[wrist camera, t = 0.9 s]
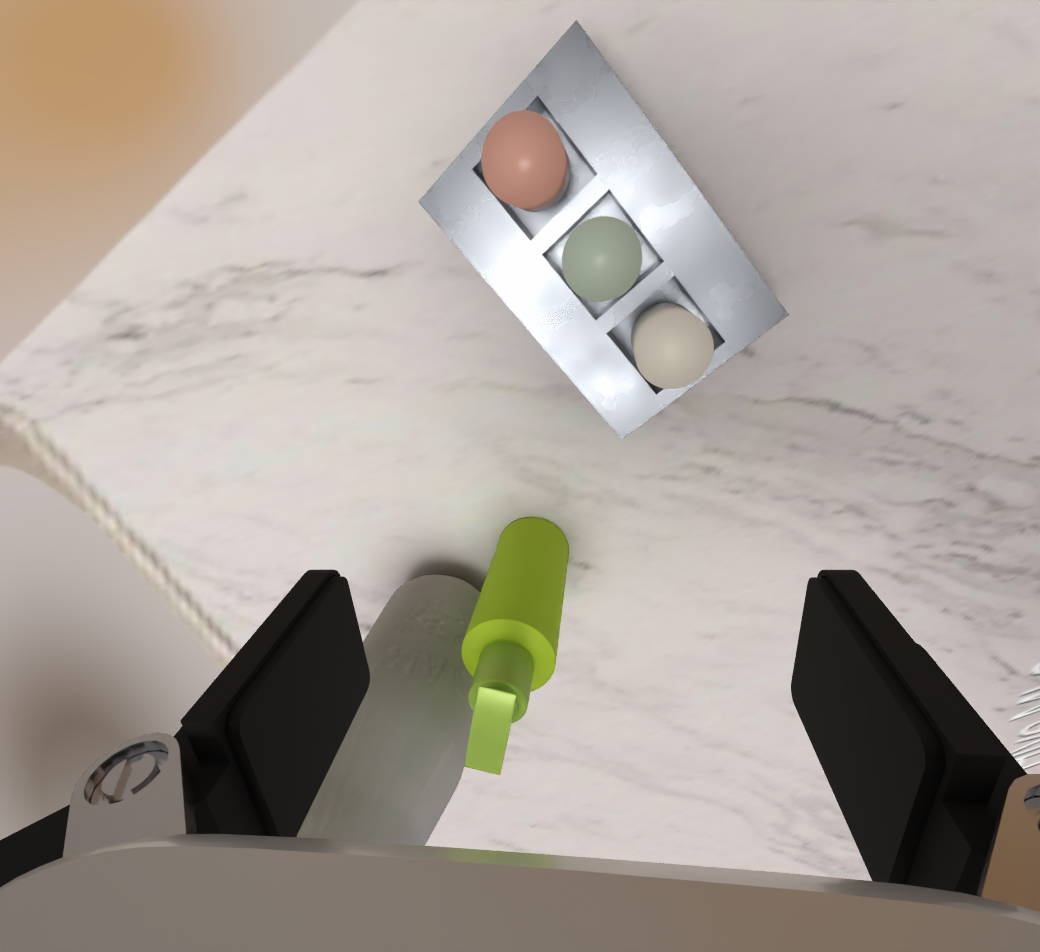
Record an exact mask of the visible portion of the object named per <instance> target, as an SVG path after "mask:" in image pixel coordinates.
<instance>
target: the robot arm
mask: <svg viewBox="0 0 1040 952" xmlns="http://www.w3.org/2000/svg"><path fill="white" fill-rule="evenodd" d="M369 684H370V670H369V666H368V662H367V658H366V654H365V650H364V646H363V642H362V638H361V634H360V630H359V626H358V621H357V617H356V613H355V609H354V605H353V601H352V597H351V593H350V589H349V585H348V581H347V579H346V578H345V577H340V574H339V573H338V571H336V570H308V571H307V572H306V573H305V574H304V575H303V576H302V577H301V579H300V580H299V581H298V582H297V583H296V584H295V586H294V587H293V588H292V589H291V590H290V592H289V593H288V594H287V595H286V596H285V598H284V599H283V600H282V601H281V602H280V603H279V605H278V606H277V607H276V608H275V609H274V611H273V612H272V613H271V614H270V615H269V616H268V618H267V619H266V620H265V621H264V622H263V624H262V625H261V626H260V627H259V628H258V629H257V631H256V632H255V633H254V634H253V635H252V637H251V638H250V639H249V640H248V641H247V643H246V644H245V645H244V646H243V647H242V648H241V650H240V651H239V652H238V653H237V654H236V656H235V657H234V658H233V659H232V660H231V661H230V663H229V664H228V665H227V666H226V667H225V669H224V670H223V671H222V672H221V673H220V675H219V676H218V677H217V678H216V679H215V680H214V682H213V683H212V684H211V685H210V686H209V688H208V689H207V690H206V691H205V692H204V693H203V695H202V696H201V697H200V698H199V699H198V701H197V702H196V703H195V704H194V706H192V708H191V709H190V710H189V711H188V712H187V714H186V715H185V716H184V717H183V718H182V720H181V723H182V725H183V726H182V727H181V728H180V730H179V731H178V732H177V733H176V735H175V736H174V737H172V736H171V735H169V734H163V733H152V734H145V735H142V736H139V737H136V738H133V739H130V740H128V741H126V742H124V743H122V744H120V745H118V746H116V747H114V748H113V749H111V750H110V751H108V752H107V753H105V754H104V755H103V756H102V757H100V758H98V759H97V760H96V761H95V762H94V763H93V764H92V765H91V766H90V767H89V768H88V769H87V770H86V771H85V772H84V773H83V775H82V776H81V778H80V779H79V780H78V782H77V783H76V785H75V788H74V790H73V793H72V796H71V802H70V805H68V806H66V807H64V808H62V809H60V810H58V811H57V812H55V813H53V814H51V815H49V816H47V817H45V818H43V819H41V820H39V821H37V822H35V823H33V824H31V825H29V826H27V827H25V828H23V829H21V830H19V831H18V832H16V833H14V834H12V835H10V836H8V837H6V838H4V839H2V840H0V952H1040V774H1027V773H1026V772H1025V771H1024V770H1023V768H1022V767H1021V766H1020V765H1019V764H1018V762H1017V761H1016V760H1015V759H1014V757H1013V756H1012V755H1011V754H1010V753H1009V751H1008V750H1007V749H1006V748H1005V746H1004V745H1003V744H1002V743H1001V742H1000V740H999V739H998V738H997V737H996V735H995V734H994V733H993V732H992V731H991V729H990V728H989V727H988V726H987V725H986V723H985V722H984V721H983V720H982V718H981V717H980V716H979V715H978V714H977V712H976V711H975V710H974V709H973V707H972V706H971V705H970V704H969V703H968V701H967V700H966V699H965V698H964V696H963V695H962V694H961V693H960V692H959V690H958V689H957V688H956V687H955V685H954V684H953V683H952V682H951V681H950V679H949V678H948V677H947V676H946V675H945V673H944V672H943V671H942V670H941V668H940V667H939V666H938V665H937V664H936V662H935V661H934V660H933V659H932V657H931V656H930V655H929V654H928V653H927V651H926V650H925V649H924V648H922V647H921V646H920V645H919V644H917V643H915V642H914V640H913V639H912V638H911V637H910V635H909V634H908V633H907V632H906V631H905V629H904V628H903V627H902V626H901V624H900V623H899V622H898V621H897V619H896V618H895V617H894V616H893V614H892V613H891V612H890V611H889V610H888V608H887V607H886V606H885V605H884V603H883V602H882V601H881V600H880V598H879V597H878V596H877V595H876V594H875V592H874V591H873V590H872V589H871V587H870V586H869V585H868V584H867V582H866V581H865V580H864V579H863V577H862V576H861V575H860V574H859V573H858V572H857V571H855V570H822V571H820V572H819V574H818V577H817V578H810V579H809V581H808V585H807V591H806V597H805V603H804V609H803V615H802V621H801V627H800V633H799V639H798V645H797V651H796V657H795V664H794V670H793V676H792V682H791V693H792V698H793V702H794V705H795V707H796V709H797V712H798V714H799V716H800V718H801V721H802V723H803V725H804V727H805V730H806V732H807V734H808V736H809V739H810V741H811V743H812V745H813V748H814V750H815V752H816V755H817V757H818V759H819V761H820V764H821V766H822V768H823V770H824V773H825V775H826V777H827V779H828V782H829V784H830V786H831V788H832V791H833V793H834V795H835V797H836V800H837V802H838V804H839V806H840V809H841V811H842V813H843V815H844V818H845V820H846V822H847V824H848V827H849V829H850V831H851V834H852V836H853V838H854V840H855V843H856V845H857V847H858V849H859V852H860V854H861V856H862V858H863V861H864V863H865V865H866V867H867V870H868V872H869V874H870V876H871V879H872V881H863V880H853V879H842V878H832V877H822V876H811V875H801V874H790V873H778V872H766V871H753V870H740V869H728V868H715V867H702V866H690V865H677V864H664V863H652V862H639V861H626V860H613V859H599V858H586V857H572V856H559V855H545V854H532V853H518V852H504V851H490V850H476V849H462V848H448V847H434V846H419V845H404V844H389V843H374V842H359V841H344V840H329V839H314V838H297V837H296V836H297V834H298V832H299V830H300V828H301V826H302V824H303V822H304V820H305V818H306V816H307V814H308V812H309V810H310V808H311V806H312V803H313V801H314V799H315V797H316V795H317V793H318V791H319V789H320V787H321V785H322V783H323V781H324V779H325V777H326V775H327V773H328V771H329V769H330V767H331V764H332V762H333V760H334V758H335V756H336V754H337V752H338V750H339V748H340V746H341V744H342V742H343V740H344V738H345V736H346V734H347V732H348V730H349V728H350V725H351V723H352V721H353V719H354V717H355V715H356V713H357V711H358V709H359V707H360V705H361V703H362V701H363V699H364V697H365V695H366V693H367V690H368V688H369Z"/></svg>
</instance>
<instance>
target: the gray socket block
mask: <svg viewBox="0 0 1040 952" xmlns="http://www.w3.org/2000/svg"><path fill="white" fill-rule="evenodd" d="M521 110H526V111H532V112H536V113H538V114H540V115H542V116H543V117H545V118H546V119H547V120H549V121H550V122H551V123H552V125H553V126H554V127H555V129H556V130H557V132H558V134H559V136H560V138H561V140H562V143H563V145H564V147H565V150H566V152H567V155H568V158H569V162H570V179H569V183H568V186H567V189H566V191H565V193H564V194H563V196H562V197H561V199H560V200H559V201H558V202H557V203H556V204H555V205H553V206H552V207H550V208H548V209H546V210H543V211H539V212H529V211H525V210H522V209H520V208H517V207H515V206H512V205H510V204H507V203H505V202H503V201H502V200H500V199H499V198H498V197H497V196H496V195H495V194H494V193H493V192H492V191H491V189H490V188H489V186H488V184H487V183H486V180H485V178H484V174H483V171H482V162H481V156H482V149H483V144H484V141H485V139H486V136H487V134H488V132H489V131H490V129H491V128H492V126H493V125H494V124H495V123H496V122H497V121H498V120H499V119H500V118H502V117H503V116H505V115H507V114H509V113H511V112H515V111H521ZM419 203H420V204H421V206H422V207H423V208H424V209H425V210H426V211H427V213H428V214H429V215H430V216H431V217H432V218H433V220H434V221H435V222H436V223H437V224H438V225H439V227H440V228H441V229H442V230H443V231H444V233H445V234H446V235H447V236H448V237H449V238H450V240H451V241H452V242H453V243H454V244H455V245H456V247H457V248H458V249H459V250H460V251H461V252H462V254H463V255H464V256H465V257H466V258H467V259H468V261H469V262H470V263H471V264H472V265H473V266H474V268H475V269H476V270H477V271H478V272H479V273H480V275H481V276H482V277H483V278H484V279H485V280H486V282H487V283H488V284H489V285H490V286H491V287H492V289H493V290H494V291H495V292H496V293H497V294H498V296H499V297H500V298H501V299H502V300H503V301H504V303H505V304H506V305H507V306H508V307H509V308H510V310H511V311H512V312H513V313H514V314H515V315H516V317H517V318H518V319H519V320H520V321H521V322H522V324H523V325H524V326H525V327H526V328H527V329H528V331H529V332H530V333H531V334H532V335H533V336H534V338H535V339H536V340H537V341H538V342H539V343H540V345H541V346H542V347H543V348H544V349H545V350H546V352H547V353H548V354H549V355H550V356H551V357H552V359H553V360H554V361H555V362H556V363H557V365H558V366H559V367H560V368H561V369H562V370H563V372H564V373H565V374H566V375H567V376H568V377H569V379H570V380H571V381H572V382H573V383H574V384H575V386H576V387H577V388H578V389H579V390H580V391H581V393H582V394H583V395H584V396H585V397H586V398H587V400H588V401H589V402H590V403H591V404H592V405H593V407H594V408H595V409H596V410H597V411H598V412H599V414H600V415H601V416H602V417H603V418H604V419H605V421H606V422H607V423H608V424H609V425H610V426H611V428H612V429H613V430H614V431H615V432H616V433H617V435H618V436H619V437H620V438H621V439H623V438H624V437H626V436H627V435H628V434H630V433H631V432H632V431H634V430H635V429H637V428H638V427H639V426H641V425H642V424H643V423H645V422H646V421H647V420H649V419H650V418H651V417H653V416H654V415H655V414H657V413H658V412H659V411H661V410H662V409H663V408H665V407H666V406H667V405H669V404H670V403H671V402H673V401H674V400H675V399H677V398H678V397H679V396H681V395H682V394H683V393H685V392H686V391H687V390H689V389H690V388H691V387H693V386H694V385H695V384H697V383H698V382H700V381H701V380H702V379H704V378H705V377H706V376H708V375H709V374H710V373H712V372H713V371H714V370H716V369H717V368H718V367H720V366H721V365H722V364H724V363H725V362H726V361H728V360H729V359H730V358H732V357H733V356H734V355H736V354H737V353H738V352H740V351H741V350H742V349H744V348H745V347H746V346H748V345H749V344H750V343H752V342H753V341H754V340H756V339H757V338H758V337H760V336H761V335H762V334H764V333H765V332H767V331H768V330H769V329H771V328H772V327H773V326H775V325H776V324H777V323H779V322H780V321H781V320H783V319H784V318H785V317H787V316H788V315H789V314H788V313H787V311H786V310H785V309H784V307H783V306H782V305H781V303H780V302H779V300H778V299H777V298H776V296H775V295H774V293H773V292H772V291H771V289H770V288H769V286H768V285H767V284H766V282H765V281H764V280H763V278H762V277H761V275H760V274H759V273H758V271H757V270H756V268H755V267H754V266H753V264H752V263H751V262H750V260H749V259H748V257H747V256H746V255H745V253H744V252H743V250H742V249H741V248H740V246H739V245H738V243H737V242H736V241H735V239H734V238H733V237H732V235H731V234H730V232H729V231H728V230H727V228H726V227H725V225H724V224H723V223H722V221H721V220H720V218H719V217H718V216H717V214H716V213H715V212H714V210H713V209H712V207H711V206H710V205H709V203H708V202H707V200H706V199H705V198H704V196H703V195H702V193H701V192H700V191H699V189H698V188H697V187H696V185H695V184H694V182H693V181H692V180H691V178H690V177H689V175H688V174H687V173H686V171H685V170H684V169H683V167H682V166H681V164H680V163H679V162H678V160H677V159H676V157H675V156H674V155H673V153H672V152H671V150H670V149H669V148H668V146H667V145H666V144H665V142H664V141H663V139H662V138H661V137H660V135H659V134H658V132H657V131H656V130H655V128H654V127H653V125H652V124H651V123H650V121H649V120H648V119H647V117H646V116H645V114H644V113H643V112H642V110H641V109H640V107H639V106H638V105H637V103H636V102H635V100H634V99H633V98H632V96H631V95H630V94H629V92H628V91H627V89H626V88H625V87H624V85H623V84H622V82H621V81H620V80H619V78H618V77H617V75H616V74H615V73H614V71H613V70H612V69H611V67H610V66H609V64H608V63H607V62H606V60H605V59H604V57H603V56H602V55H601V53H600V52H599V51H598V49H597V48H596V46H595V45H594V44H593V42H592V41H591V39H590V38H589V37H588V35H587V34H586V32H585V31H584V30H583V28H582V27H581V26H580V24H579V23H578V21H577V20H576V21H575V22H574V23H573V25H572V26H571V27H570V28H569V29H568V30H567V32H566V33H565V34H564V35H563V36H562V37H561V38H560V40H559V41H558V42H557V43H556V44H555V45H554V46H553V48H552V49H551V50H550V51H549V52H548V53H547V55H546V56H545V57H544V58H543V59H542V60H541V61H540V63H539V64H538V65H537V66H536V67H535V68H534V70H533V71H532V72H531V73H530V74H529V75H528V76H527V78H526V79H525V80H524V81H523V82H522V83H521V84H520V86H519V87H518V88H517V89H516V90H515V91H514V93H513V94H512V95H511V96H510V97H509V98H508V99H507V101H506V102H505V103H504V104H503V105H502V106H501V107H500V109H499V110H498V111H497V112H496V113H495V114H494V116H493V117H492V118H491V119H490V120H489V121H488V122H487V124H486V125H485V126H484V127H483V128H482V129H481V130H480V132H479V133H478V134H477V135H476V136H475V137H474V139H473V140H472V141H471V142H470V143H469V144H468V145H467V147H466V148H465V149H464V150H463V151H462V152H461V153H460V155H459V156H458V157H457V158H456V159H455V160H454V162H453V163H452V164H451V165H450V166H449V167H448V168H447V170H446V171H445V172H444V173H443V174H442V175H441V176H440V178H439V179H438V180H437V181H436V182H435V183H434V185H433V186H432V187H431V188H430V189H429V190H428V191H427V193H426V194H425V195H424V196H423V197H422V198H421V199H420V201H419ZM599 216H610V217H614V218H618V219H620V220H622V221H624V222H625V223H627V224H628V225H629V226H630V227H631V228H632V229H633V230H634V232H635V233H636V235H637V237H638V239H639V241H640V244H641V248H642V265H641V269H640V273H639V275H638V277H637V279H636V281H635V282H634V284H633V285H632V286H631V288H630V289H629V290H628V291H627V292H625V293H624V294H623V295H621V296H620V297H618V298H616V299H613V300H610V301H605V302H595V301H590V300H587V299H584V298H582V297H581V296H579V295H578V294H576V293H575V292H574V291H573V290H572V289H571V287H570V286H569V285H568V283H567V281H566V279H565V276H564V273H563V269H562V254H563V249H564V246H565V243H566V241H567V239H568V237H569V236H570V234H571V233H572V232H573V231H574V230H575V228H576V227H578V226H579V225H580V224H581V223H583V222H585V221H586V220H589V219H591V218H594V217H599ZM664 302H671V303H676V304H679V305H682V306H684V307H685V308H687V309H688V310H689V311H690V312H692V313H693V314H694V315H695V316H697V317H698V318H699V319H700V320H701V321H703V322H704V323H705V325H706V326H707V327H708V329H709V330H710V332H711V334H712V338H713V343H714V352H713V357H712V361H711V363H710V365H709V367H708V369H707V370H706V372H705V373H704V374H703V375H702V376H701V377H700V378H699V379H698V380H697V381H695V382H694V383H692V384H690V385H688V386H685V387H682V388H678V389H665V388H660V387H657V386H655V385H653V384H651V383H650V382H649V381H647V380H646V379H645V378H644V377H643V376H642V374H641V373H640V371H639V369H638V367H637V364H636V360H635V356H634V352H633V348H632V344H631V333H632V329H633V326H634V324H635V322H636V320H637V318H638V317H639V316H640V315H641V314H642V313H643V312H644V311H645V310H646V309H648V308H649V307H651V306H653V305H655V304H659V303H664Z"/></svg>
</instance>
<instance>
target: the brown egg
mask: <svg viewBox="0 0 1040 952" xmlns="http://www.w3.org/2000/svg"><path fill="white" fill-rule="evenodd" d="M481 162H482V171H483V174H484V178H485V180H486V183H487V184H488V186H489V188H490V189H491V191H492V192H493V193H494V194H495V195H496V196H497V197H498V198H499V199H500V200H502V201H503V202H505V203H507V204H510V205H512V206H515V207H517V208H520V209H522V210H525V211H529V212H539V211H543V210H546V209H548V208H550V207H552V206H553V205H555V204H556V203H557V202H558V201H559V200H560V199H561V197H562V196H563V194H564V193H565V191H566V189H567V186H568V183H569V179H570V162H569V158H568V155H567V152H566V150H565V147H564V145H563V143H562V140H561V138H560V136H559V134H558V132H557V130H556V129H555V127H554V126H553V125H552V123H551V122H550V121H549V120H547V119H546V118H545V117H543V116H542V115H540V114H538V113H536V112H532V111H526V110H521V111H515V112H511V113H509V114H507V115H505V116H503V117H502V118H500V119H499V120H498V121H497V122H496V123H495V124H494V125H493V126H492V128H491V129H490V131H489V132H488V134H487V136H486V139H485V141H484V144H483V149H482V156H481Z"/></svg>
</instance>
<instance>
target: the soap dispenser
mask: <svg viewBox="0 0 1040 952" xmlns="http://www.w3.org/2000/svg"><path fill="white" fill-rule="evenodd" d="M568 554H569V546H568V542H567V539H566V537H565V535H564V534H563V532H562V531H561V530H560V529H559V528H558V527H557V526H556V525H554V524H553V523H551V522H549V521H547V520H545V519H541V518H536V517H527V518H521V519H518V520H516V521H514V522H512V523H511V524H509V525H508V526H507V527H506V528H505V529H504V531H503V532H502V534H501V537H500V540H499V542H498V545H497V548H496V551H495V554H494V556H493V559H492V562H491V565H490V568H489V570H488V573H487V576H486V579H485V582H484V584H483V587H482V590H481V593H480V596H479V598H478V601H477V604H476V607H475V610H474V612H473V615H472V618H471V621H470V624H469V626H468V629H467V632H466V635H465V638H464V640H463V644H462V659H463V662H464V665H465V667H466V668H467V670H468V671H469V673H470V674H471V675H472V676H473V680H472V683H471V687H470V690H469V695H468V700H469V704H470V707H471V708H472V710H473V711H474V712H473V717H472V723H471V728H470V734H469V740H468V747H467V753H466V759H465V767H468V768H472V769H476V770H480V771H485V772H489V773H493V774H497V775H500V773H501V768H502V764H503V759H504V754H505V750H506V745H507V740H508V736H509V731H510V726H511V723H514V722H516V721H518V720H519V719H521V718H522V717H523V716H524V714H525V712H526V710H527V706H528V701H529V695H530V692H531V691H534V690H536V689H538V688H540V687H541V686H543V685H544V684H545V683H546V682H547V681H548V680H549V679H550V678H551V676H552V674H553V672H554V669H555V664H556V655H557V647H558V639H559V630H560V622H561V613H562V605H563V596H564V588H565V580H566V571H567V563H568Z"/></svg>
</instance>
